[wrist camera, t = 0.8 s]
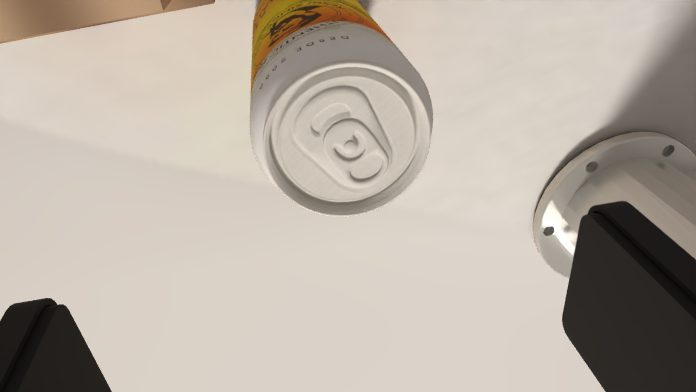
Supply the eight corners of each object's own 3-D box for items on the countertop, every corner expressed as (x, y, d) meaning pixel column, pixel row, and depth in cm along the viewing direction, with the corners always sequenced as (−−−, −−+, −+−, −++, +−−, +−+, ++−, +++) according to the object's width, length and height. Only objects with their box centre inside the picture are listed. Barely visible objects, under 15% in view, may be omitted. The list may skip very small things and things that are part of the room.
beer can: (320, -54, 27) (379, 3, 14) (381, 42, 30) (474, 160, 17) (229, 16, 28) (205, 129, 15) (297, 102, 31) (325, 255, 18)
